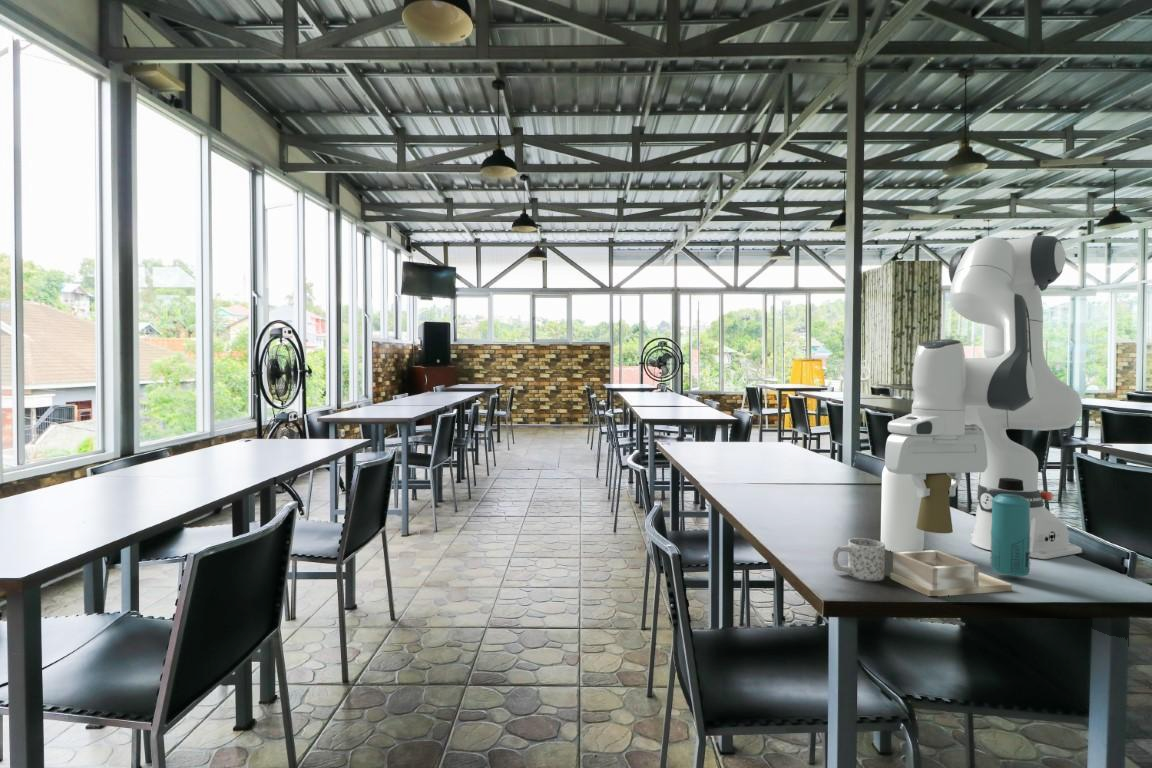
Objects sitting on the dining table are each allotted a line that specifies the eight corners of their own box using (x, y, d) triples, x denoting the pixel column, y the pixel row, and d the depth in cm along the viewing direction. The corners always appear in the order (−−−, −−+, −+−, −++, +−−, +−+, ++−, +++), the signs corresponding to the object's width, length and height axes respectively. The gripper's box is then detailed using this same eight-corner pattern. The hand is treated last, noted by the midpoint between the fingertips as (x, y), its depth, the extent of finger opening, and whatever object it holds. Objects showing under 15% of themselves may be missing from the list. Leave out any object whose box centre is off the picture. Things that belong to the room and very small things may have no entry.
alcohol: (932, 554, 136) (935, 421, 136) (895, 555, 135) (898, 421, 135) (907, 543, 145) (910, 418, 144) (872, 544, 144) (875, 418, 143)
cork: (957, 534, 112) (959, 475, 112) (922, 532, 114) (923, 473, 114) (946, 526, 118) (947, 470, 118) (912, 524, 120) (913, 468, 119)
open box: (967, 573, 124) (967, 548, 124) (1011, 590, 114) (1012, 563, 114) (890, 578, 120) (891, 552, 120) (929, 597, 110) (930, 568, 110)
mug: (874, 570, 125) (875, 538, 125) (890, 581, 118) (891, 547, 118) (825, 569, 125) (826, 537, 125) (838, 580, 119) (839, 546, 119)
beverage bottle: (1031, 586, 116) (1034, 482, 116) (989, 579, 120) (992, 479, 120) (1028, 576, 122) (1030, 477, 122) (988, 570, 126) (990, 474, 125)
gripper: (969, 422, 121) (967, 491, 121) (880, 423, 117) (878, 494, 117) (997, 425, 115) (995, 498, 115) (904, 425, 110) (902, 501, 111)
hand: (936, 496), depth 116 cm, fingers closed on cork, 4 cm apart
